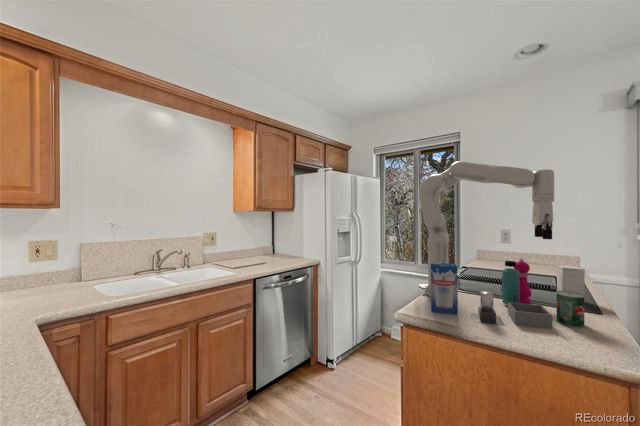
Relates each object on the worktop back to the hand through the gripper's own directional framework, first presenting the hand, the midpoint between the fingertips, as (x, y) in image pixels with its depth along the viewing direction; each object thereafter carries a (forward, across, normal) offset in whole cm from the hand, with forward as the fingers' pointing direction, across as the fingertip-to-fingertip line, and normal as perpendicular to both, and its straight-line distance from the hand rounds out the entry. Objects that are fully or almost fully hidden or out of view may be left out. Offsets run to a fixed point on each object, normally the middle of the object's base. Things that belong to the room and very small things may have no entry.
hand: (543, 237), depth 124 cm
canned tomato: (+30, +19, +3) cm, 36 cm away
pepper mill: (+30, -3, -7) cm, 31 cm away
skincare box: (+30, -13, +14) cm, 35 cm away
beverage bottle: (+30, +6, -13) cm, 33 cm away
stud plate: (+30, +26, -26) cm, 47 cm away
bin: (+30, +24, -12) cm, 40 cm away
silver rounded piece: (+29, +26, -26) cm, 47 cm away
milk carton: (+30, +22, -40) cm, 55 cm away
